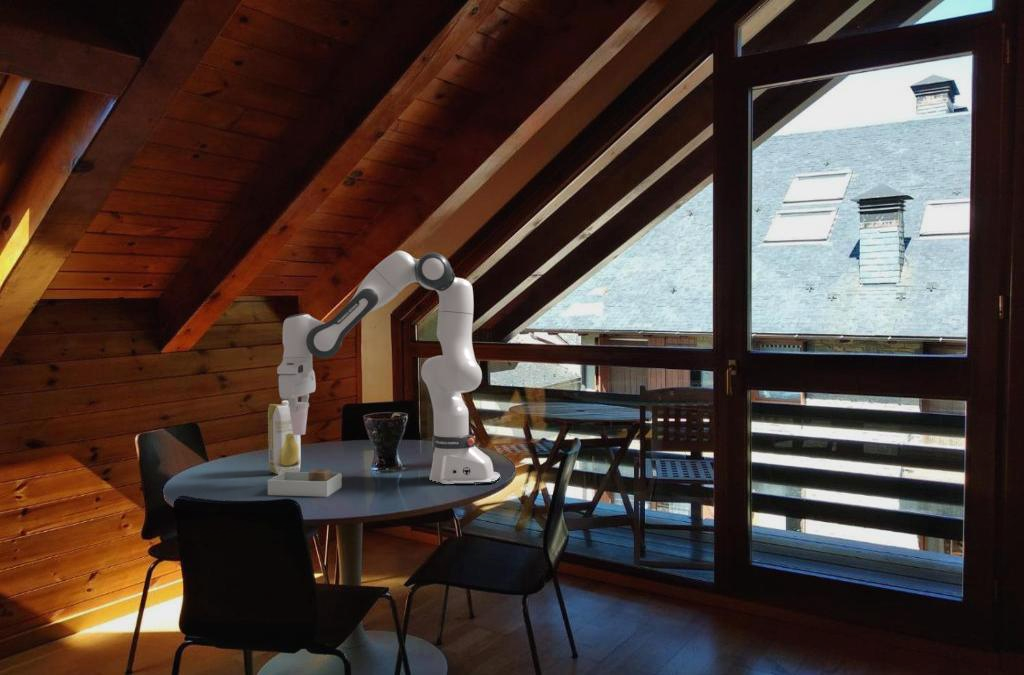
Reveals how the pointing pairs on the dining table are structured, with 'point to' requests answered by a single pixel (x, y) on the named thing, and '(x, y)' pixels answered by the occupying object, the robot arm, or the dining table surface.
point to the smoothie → (299, 418)
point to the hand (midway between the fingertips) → (299, 410)
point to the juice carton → (282, 440)
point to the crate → (303, 485)
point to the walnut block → (319, 475)
